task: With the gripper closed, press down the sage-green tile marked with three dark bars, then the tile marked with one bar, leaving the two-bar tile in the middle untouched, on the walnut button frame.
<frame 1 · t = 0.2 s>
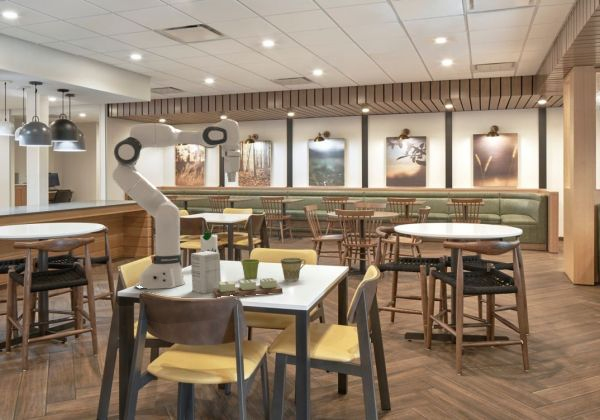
hand: (231, 182, 242), 48 cm above the table, tool pointing down, fingers open, 8 cm apart
tile three: (268, 282, 217), point 4 cm above the table, slide at 0.0 cm
milk carton: (209, 267, 281), on the table
supplement box: (206, 290, 221), on the table
frame: (247, 293, 214), on the table
plant pot: (250, 278, 248), on the table
ceramic cup: (294, 279, 242), on the table
tile one: (226, 286, 211), point 4 cm above the table, slide at 0.0 cm
tile two: (247, 284, 214), point 4 cm above the table, slide at 0.0 cm
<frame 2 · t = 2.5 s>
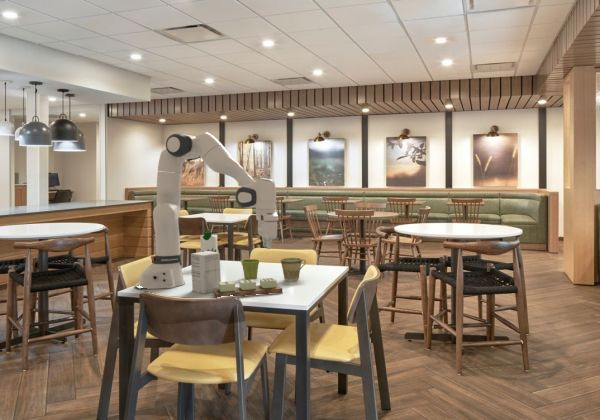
hand: (267, 247, 216), 19 cm above the table, tool pointing down, fingers open, 5 cm apart
nothing on the table moved.
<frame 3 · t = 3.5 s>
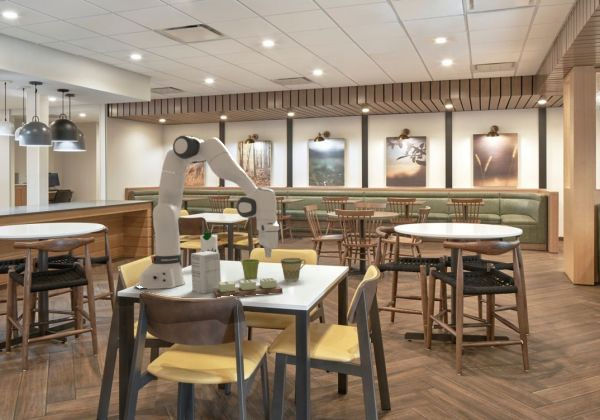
hand: (268, 257, 216), 15 cm above the table, tool pointing down, fingers closed
nothing on the table moved.
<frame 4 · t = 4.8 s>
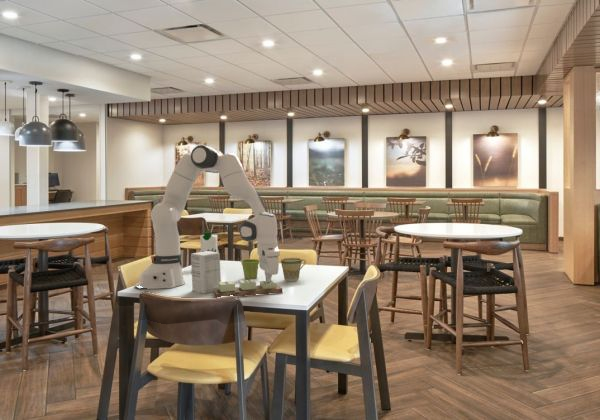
hand: (268, 281, 217), 4 cm above the table, tool pointing down, fingers closed, pressing on tile three
tile three: (268, 285, 217), point 3 cm above the table, slide at 1.1 cm, touching gripper
everything else where it was.
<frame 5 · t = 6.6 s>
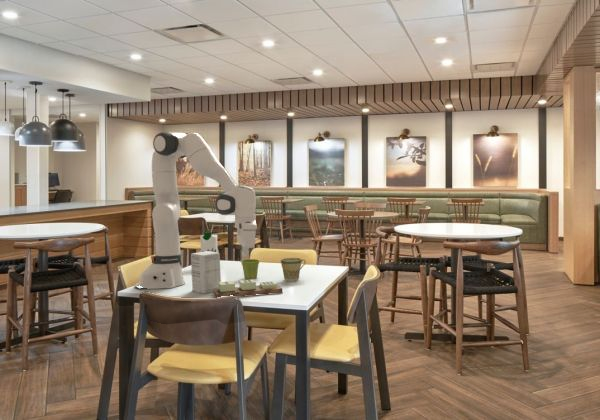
hand: (245, 256, 213), 16 cm above the table, tool pointing down, fingers closed
tile three: (268, 286, 217), point 2 cm above the table, slide at 1.6 cm
everything else where it was.
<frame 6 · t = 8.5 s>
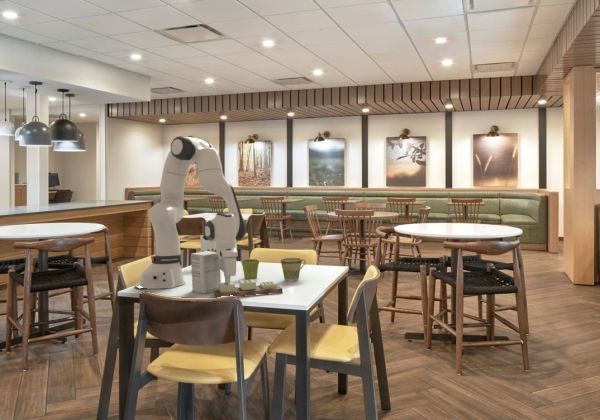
hand: (227, 283, 211), 5 cm above the table, tool pointing down, fingers closed, pressing on tile one
tile one: (226, 286, 211), point 3 cm above the table, slide at 0.3 cm, touching gripper
everything else where it was.
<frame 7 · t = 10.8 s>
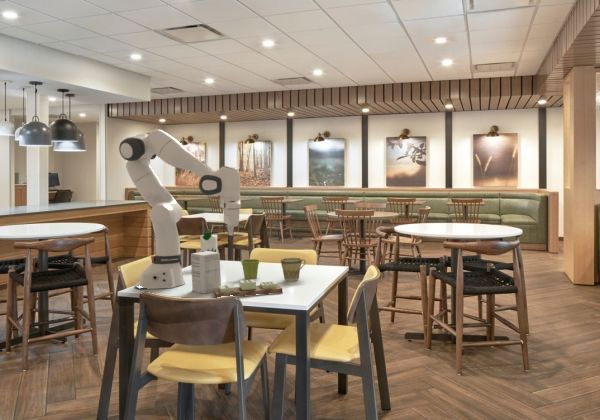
hand: (230, 235, 219), 24 cm above the table, tool pointing down, fingers closed
tile one: (226, 290, 211), point 2 cm above the table, slide at 1.6 cm
everything else where it was.
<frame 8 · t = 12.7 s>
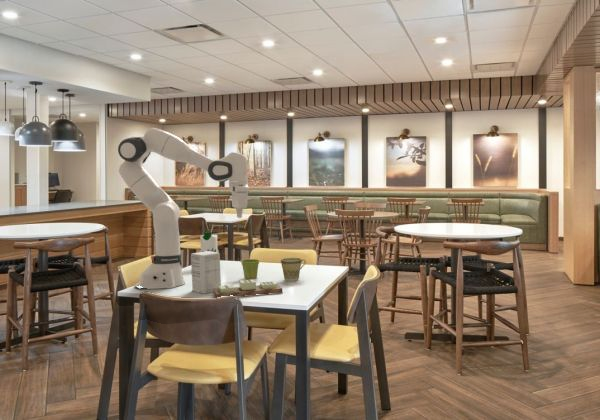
hand: (239, 217, 232), 31 cm above the table, tool pointing down, fingers closed
nothing on the table moved.
at the end: tile three slide at 1.6 cm; tile one slide at 1.6 cm; tile two slide at 0.0 cm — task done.
